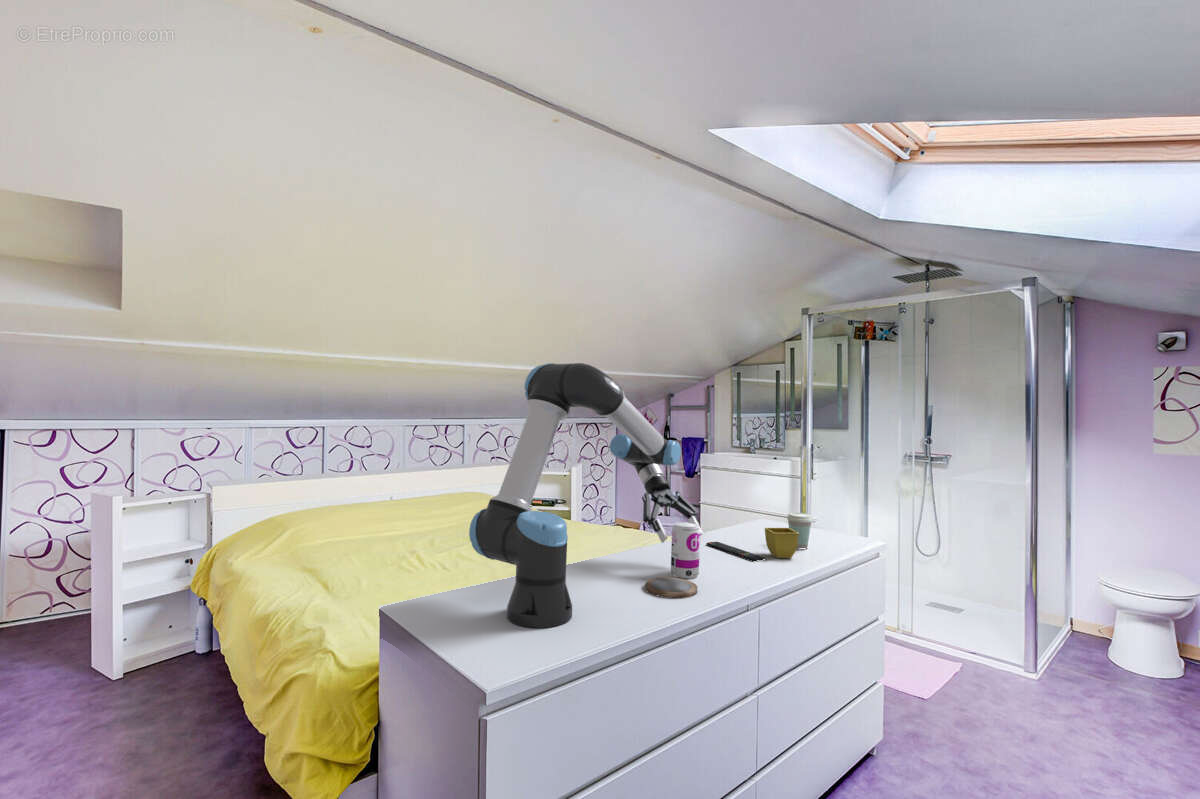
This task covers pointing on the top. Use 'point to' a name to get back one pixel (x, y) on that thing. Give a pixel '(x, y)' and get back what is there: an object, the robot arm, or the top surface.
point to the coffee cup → (800, 527)
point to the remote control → (735, 551)
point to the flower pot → (781, 541)
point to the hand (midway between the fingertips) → (682, 538)
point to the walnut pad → (671, 587)
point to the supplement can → (685, 550)
